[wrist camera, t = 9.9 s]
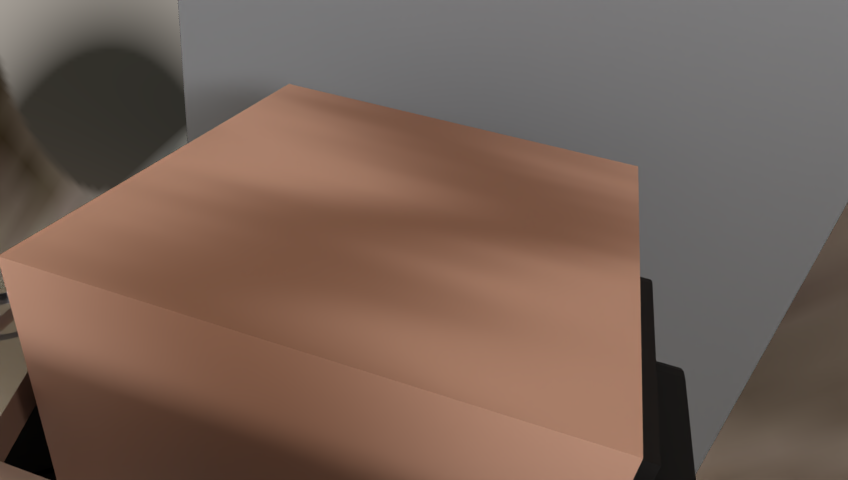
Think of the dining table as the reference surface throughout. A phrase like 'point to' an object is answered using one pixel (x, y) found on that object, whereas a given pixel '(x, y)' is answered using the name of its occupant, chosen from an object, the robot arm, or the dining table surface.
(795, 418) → the dining table surface
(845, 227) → the dining table surface
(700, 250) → the gray block
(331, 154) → the terracotta cube
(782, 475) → the dining table surface
